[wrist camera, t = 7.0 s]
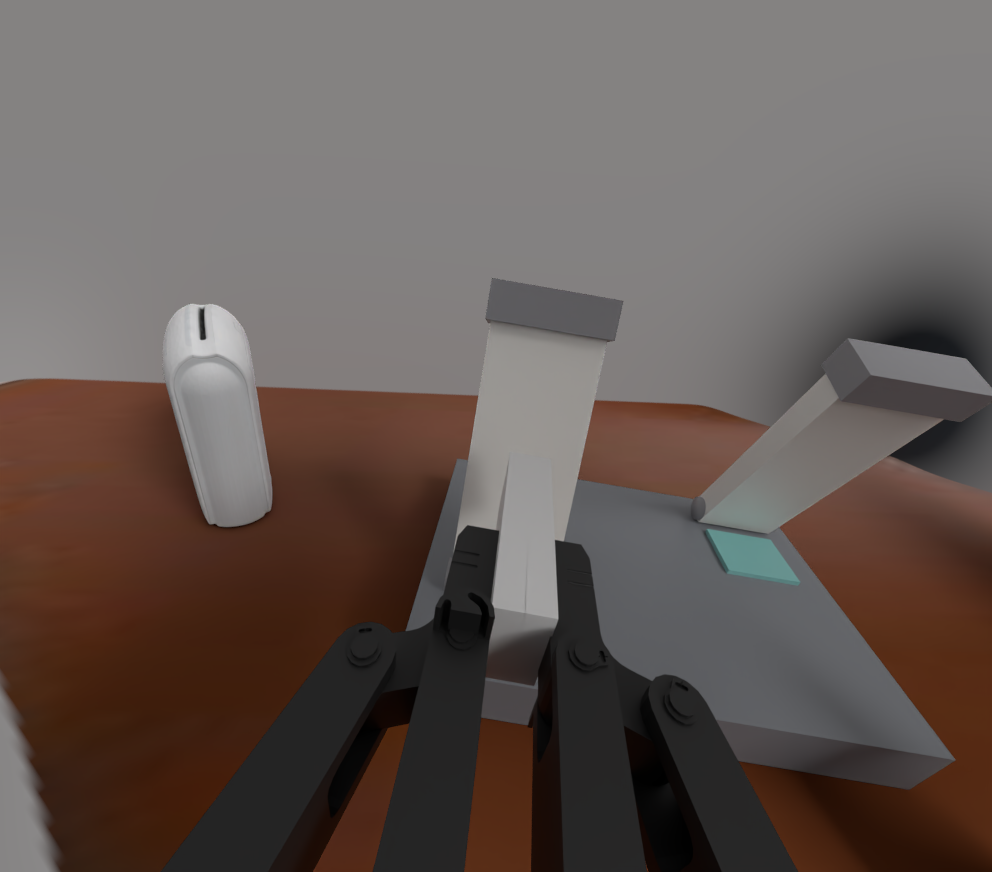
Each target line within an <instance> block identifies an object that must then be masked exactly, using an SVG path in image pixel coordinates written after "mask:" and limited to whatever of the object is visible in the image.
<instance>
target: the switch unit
mask: <svg viewBox="0 0 992 872" xmlns="http://www.w3.org/2000/svg"><path fill="white" fill-rule="evenodd" d="M467 465H468V460H462V459H457V462H456V465H455V469H454V472H453V475H452V479H451V482H450V485H449V489H448V492H447V495H446V499H445V502H444V505H443V509H442V512H441V515H440V518H439V522H438V525H437V528H436V532H435V535H434V538H433V542H432V545H431V548H430V552H429V555H428V558H427V562H426V565H425V568H424V572H423V575H422V578H421V582H420V585H419V588H418V591H417V595H416V598H415V601H414V605H413V608H412V611H411V615H410V618H409V621H408V625H407V628H406V631H410V630H414V629H418V628H420V627H422V626H424V625H426V624H428V623H429V622H430V621H431V620H432V619H433V618H434V614H435V606H436V604H437V602H438V601H439V599H440V597H441V596H442V595H443V594H444V591H443V589H444V582H445V576H446V571H447V566H448V562H449V558H452V557H453V552H454V546H455V539H456V533H457V527H458V521H459V514H460V508H461V502H462V496H463V490H464V483H465V477H466V471H467ZM692 501H693V499H689V498H684V497H678V496H672V495H666V494H660V493H654V492H649V491H643V490H637V489H631V488H625V487H619V486H614V485H608V484H602V483H596V482H590V481H584V480H579V479H577V483H576V487H575V492H574V496H573V501H572V506H571V510H570V515H569V519H568V524H567V529H566V533H565V538H564V541H565V542H570V543H576V544H581V545H582V546H583V548H584V550H585V551H586V553H587V555H588V556H589V558H590V563H591V570H592V577H593V584H594V586H593V588H594V591H595V598H596V605H597V612H598V619H599V625H600V632H601V637H602V640H603V643H604V645H605V646H606V647H607V649H608V650H609V651H610V654H611V655H612V656H613V657H614V658H615V659H616V660H617V661H618V662H619V663H620V664H622V665H623V666H625V667H626V668H628V669H630V670H632V671H634V672H636V673H638V674H640V675H642V676H643V677H645V678H647V679H649V680H651V681H653V680H654V678H655V677H658V676H661V675H664V674H667V675H674V676H677V677H679V678H681V679H683V680H685V681H687V682H688V683H690V684H691V685H692V686H693V687H694V688H695V689H696V690H698V691H699V693H700V694H701V695H702V697H703V698H704V700H705V701H706V702H707V704H708V706H709V708H710V710H711V711H712V713H713V715H714V717H715V719H716V721H717V723H718V724H719V726H720V728H721V730H722V732H723V734H724V736H725V737H726V739H727V741H728V743H729V745H730V747H731V748H732V750H733V752H734V754H735V756H736V758H737V760H738V761H741V762H747V763H753V764H759V765H765V766H771V767H777V768H783V769H789V770H795V771H801V772H807V773H812V774H818V775H824V776H830V777H836V778H842V779H848V780H854V781H860V782H866V783H872V784H878V785H884V786H889V787H895V788H901V789H907V790H909V789H911V788H913V787H914V786H916V785H917V784H919V783H921V782H922V781H924V780H925V779H927V778H928V777H930V776H932V775H933V774H935V773H936V772H938V771H939V770H941V769H943V768H944V767H946V766H947V765H949V764H951V763H952V762H954V761H955V759H954V757H953V756H952V755H951V753H950V752H949V751H948V749H947V748H946V747H945V745H944V744H943V743H942V741H941V740H940V739H939V738H938V736H937V735H936V734H935V732H934V731H933V730H932V728H931V727H930V726H929V724H928V723H927V722H926V720H925V719H924V718H923V716H922V715H921V714H920V712H919V711H918V710H917V709H916V707H915V706H914V705H913V703H912V702H911V701H910V699H909V698H908V697H907V695H906V694H905V693H904V691H903V690H902V689H901V687H900V686H899V685H898V683H897V682H896V681H895V680H894V678H893V677H892V676H891V674H890V673H889V672H888V670H887V669H886V668H885V666H884V665H883V664H882V662H881V661H880V660H879V658H878V657H877V656H876V654H875V653H874V652H873V650H872V649H871V648H870V647H869V645H868V644H867V643H866V641H865V640H864V639H863V637H862V636H861V635H860V633H859V632H858V631H857V629H856V628H855V627H854V625H853V624H852V623H851V621H850V620H849V619H848V618H847V616H846V615H845V614H844V612H843V611H842V610H841V608H840V607H839V606H838V604H837V603H836V602H835V600H834V599H833V598H832V596H831V595H830V594H829V592H828V591H827V590H826V588H825V587H824V586H823V585H822V583H821V582H820V581H819V579H818V578H817V577H816V575H815V574H814V573H813V571H812V570H811V569H810V567H809V566H808V565H807V563H806V562H805V561H804V559H803V558H802V557H801V556H800V554H799V553H798V552H797V550H796V549H795V548H794V546H793V545H792V544H791V542H790V541H789V540H788V538H787V537H786V536H785V534H784V533H783V532H782V530H781V529H780V528H778V530H777V531H776V532H770V533H769V534H766V533H760V532H754V531H748V530H742V529H737V528H731V527H725V526H719V525H713V524H707V523H702V522H698V520H696V519H694V518H693V517H692V515H691V504H692ZM537 696H538V677H537V680H536V683H535V685H534V686H531V685H525V684H520V683H514V682H509V681H503V680H498V679H492V678H487V677H486V678H485V687H484V696H483V705H482V714H481V718H487V719H493V720H499V721H505V722H511V723H517V724H522V725H528V722H529V717H530V715H531V712H532V709H533V707H534V704H535V701H536V699H537Z"/></svg>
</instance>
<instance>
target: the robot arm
mask: <svg viewBox="0 0 992 872" xmlns="http://www.w3.org/2000/svg"><path fill="white" fill-rule="evenodd" d="M593 586H594V584H593V577H592V570H591V563H590V558H589V556H588V555H587V553H586V551H585V550H584V548H583V546H582V545H581V544H576V543H570V542H565V541H559V540H555V534H554V512H553V491H552V469H551V459H548V458H543V457H537V456H532V455H526V454H520V453H515V452H510V455H509V460H508V465H507V470H506V475H505V480H504V485H503V490H502V495H501V500H500V505H499V511H498V518H497V526H496V530H492V529H487V528H481V527H475V526H470V525H467V526H466V527H465V528H464V529H463V531H462V532H461V533H460V534H459V535H458V537H457V541H456V545H455V549H454V553H453V557H452V562H451V565H450V569H449V574H448V578H447V582H446V586H445V590H444V594H443V595H442V596H441V597H440V599H439V601H438V602H437V604H436V606H435V614H434V618H433V619H432V620H431V621H430V622H429V623H428V624H426V625H424V626H422V627H420V628H418V629H414V630H410V631H403V632H396V633H392V632H391V630H389V629H388V628H386V627H385V626H384V625H382V624H379V623H374V622H366V623H359V624H357V625H355V626H352V627H350V628H348V629H347V630H346V631H345V632H344V633H343V634H342V635H341V636H339V637H338V639H337V640H336V641H335V643H334V644H333V645H332V647H331V648H330V649H329V650H328V652H327V653H326V654H325V656H324V657H323V658H322V660H321V661H320V662H319V664H318V665H317V666H316V668H315V669H314V670H313V672H312V673H311V674H310V676H309V677H308V678H307V679H306V681H305V682H304V683H303V685H302V686H301V687H300V689H299V690H298V691H297V693H296V694H295V695H294V697H293V698H292V699H291V701H290V702H289V703H288V705H287V706H286V707H285V709H284V710H283V711H282V712H281V714H280V715H279V716H278V718H277V719H276V720H275V722H274V723H273V724H272V726H271V727H270V728H269V730H268V731H267V732H266V734H265V735H264V736H263V738H262V739H261V740H260V741H259V743H258V744H257V745H256V747H255V748H254V749H253V751H252V752H251V753H250V755H249V756H248V757H247V759H246V760H245V761H244V763H243V764H242V765H241V767H240V768H239V769H238V771H237V772H236V773H235V774H234V776H233V777H232V778H231V780H230V781H229V782H228V784H227V785H226V786H225V788H224V789H223V790H222V792H221V793H220V794H219V796H218V797H217V798H216V800H215V801H214V802H213V803H212V805H211V806H210V807H209V809H208V810H207V811H206V813H205V814H204V815H203V817H202V818H201V819H200V821H199V822H198V823H197V825H196V826H195V827H194V829H193V830H192V831H191V833H190V834H189V835H188V836H187V838H186V839H185V840H184V842H183V843H182V844H181V846H180V847H179V848H178V850H177V851H176V852H175V854H174V855H173V856H172V858H171V859H170V860H169V862H168V863H167V864H166V866H165V867H164V868H163V869H162V871H161V872H313V870H314V868H315V866H316V865H317V863H318V861H319V859H320V857H321V855H322V853H323V851H324V849H325V847H326V845H327V844H328V842H329V840H330V838H331V836H332V834H333V832H334V830H335V828H336V826H337V824H338V822H339V821H340V819H341V817H342V815H343V813H344V811H345V809H346V807H347V805H348V803H349V801H350V800H351V798H352V796H353V794H354V792H355V790H356V788H357V786H358V784H359V782H360V780H361V779H362V777H363V775H364V773H365V771H366V769H367V767H368V765H369V763H370V761H371V759H372V757H373V756H374V754H375V752H376V750H377V748H378V746H379V744H380V742H381V740H382V738H383V736H384V735H385V733H386V731H387V729H388V727H393V726H398V725H403V724H408V723H409V728H408V732H407V736H406V740H405V744H404V748H403V752H402V756H401V760H400V764H399V768H398V772H397V776H396V780H395V784H394V788H393V792H392V796H391V800H390V804H389V808H388V812H387V816H386V820H385V824H384V828H383V832H382V837H381V841H380V845H379V849H378V853H377V857H376V861H375V865H374V869H373V872H464V867H465V858H466V849H467V840H468V831H469V822H470V813H471V804H472V795H473V786H474V777H475V768H476V759H477V750H478V741H479V732H480V723H481V714H482V705H483V696H484V687H485V678H486V677H487V678H492V679H498V680H503V681H509V682H514V683H520V684H525V685H531V686H534V685H535V683H536V680H537V677H538V696H537V699H536V701H535V704H534V707H533V709H532V712H531V715H530V717H529V722H528V727H530V728H532V726H533V781H532V853H531V872H647V870H646V865H647V868H648V871H649V872H798V871H797V869H796V867H795V865H794V863H793V861H792V860H791V858H790V856H789V854H788V852H787V850H786V848H785V847H784V845H783V843H782V841H781V839H780V837H779V836H778V834H777V832H776V830H775V828H774V826H773V824H772V823H771V821H770V819H769V817H768V815H767V813H766V811H765V810H764V808H763V806H762V804H761V802H760V800H759V798H758V797H757V795H756V793H755V791H754V789H753V787H752V786H751V784H750V782H749V780H748V778H747V776H746V774H745V773H744V771H743V769H742V767H741V765H740V763H739V761H738V760H737V758H736V756H735V754H734V752H733V750H732V748H731V747H730V745H729V743H728V741H727V739H726V737H725V736H724V734H723V732H722V730H721V728H720V726H719V724H718V723H717V721H716V719H715V717H714V715H713V713H712V711H711V710H710V708H709V706H708V704H707V702H706V701H705V700H704V698H703V697H702V695H701V694H700V693H699V691H698V690H696V689H695V688H694V687H693V686H692V685H691V684H690V683H688V682H687V681H685V680H683V679H681V678H679V677H677V676H674V675H667V674H664V675H661V676H658V677H655V678H654V680H653V681H651V680H649V679H647V678H645V677H643V676H642V675H640V674H638V673H636V672H634V671H632V670H630V669H628V668H626V667H625V666H623V665H622V664H620V663H619V662H618V661H617V660H616V659H615V658H614V657H613V656H612V655H611V654H610V651H609V650H608V649H607V647H606V646H605V645H604V643H603V640H602V637H601V632H600V625H599V619H598V612H597V605H596V598H595V591H594V588H593ZM645 861H646V864H645Z"/></svg>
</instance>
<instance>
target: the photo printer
mask: <svg viewBox="0 0 992 872" xmlns="http://www.w3.org/2000/svg"><path fill="white" fill-rule="evenodd" d="M163 372H164V378H165V382H166V386H167V389H168V393H169V396H170V400H171V404H172V407H173V411H174V414H175V418H176V422H177V425H178V429H179V433H180V436H181V440H182V443H183V447H184V451H185V454H186V458H187V461H188V465H189V468H190V472H191V475H192V479H193V482H194V486H195V489H196V493H197V496H198V499H199V503H200V506H201V509H202V511H203V514H204V516H205V518H206V520H207V521H208V523H209V524H216V525H217V526H220V527H235V526H241V525H245V524H249V523H252V522H254V521H256V520H258V519H260V518H262V517H263V516H264V515H265V513H266V512H269V511H270V510H271V506H272V484H271V475H270V470H269V464H268V458H267V452H266V446H265V440H264V435H263V429H262V422H261V416H260V409H259V403H258V396H257V390H256V383H255V373H254V370H253V364H252V357H251V352H250V347H249V343H248V339H247V336H246V334H245V331H244V329H243V327H242V326H241V325H240V324H239V322H238V321H237V319H236V318H235V317H234V316H233V315H232V314H231V313H229V312H228V311H227V310H225V309H224V308H222V307H220V306H217V305H214V304H207V305H196V304H189V305H187V306H184V307H183V308H181V309H179V310H178V311H177V312H176V313H175V314H174V315H173V316H172V318H171V319H170V321H169V323H168V325H167V328H166V331H165V335H164V343H163Z"/></svg>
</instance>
